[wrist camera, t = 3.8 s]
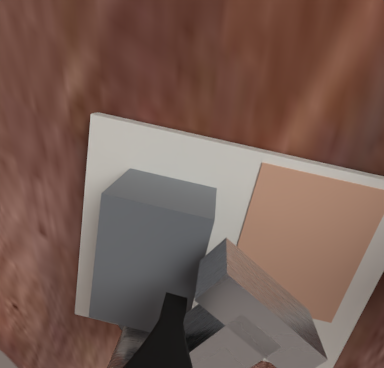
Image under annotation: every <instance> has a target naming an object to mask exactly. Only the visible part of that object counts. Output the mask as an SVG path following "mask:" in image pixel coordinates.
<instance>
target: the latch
mask: <svg viewBox="0 0 384 368" xmlns="http://www.w3.org/2000/svg"><path fill="white" fill-rule="evenodd" d="M195 301H196V302H197V303H198V305H196V306H195V307H194V308H193V309H191V310H190V311H189V312H188V313H186V314H185V318H184V322H183V324H184V330H185V336H186V341H187V346H188V350H189V354H190V358H191V362H192V366H193V368H251V367H252V366H254V365H255V364H257V363H258V362H260V361H261V360H263V359H264V358H265V359H267V360H268V361H269V362H270V363H272V364H273V365H274V366H275V367H276V368H316V367H317V366H319V365H321V364H322V363H324V362H326V361H327V360H328V359H327V356H326V353H325V351H324V348H323V346H322V343H321V340H320V338H319V335H318V332H317V330H316V327H315V325H314V322H313V319H312V317H311V314H310V312H309V310H308V309H307V308H306V307H305V306H304V305H303V304H301V303H300V302H299V301H298V300H297V299H296V298H295V297H293V296H292V295H291V294H290V293H289V292H288V291H287V290H286V289H284V288H283V287H282V286H281V285H280V284H279V283H278V282H276V281H275V280H274V279H273V278H272V277H271V276H270V275H268V274H267V273H266V272H265V271H264V270H263V269H262V268H261V267H259V266H258V265H257V264H256V263H255V262H254V261H253V260H251V259H250V258H249V257H248V256H247V255H246V254H245V253H244V252H242V251H241V250H240V249H239V248H238V247H237V246H236V245H234V244H233V243H232V242H231V241H230V240H229V239H228V238H227V237H226V238H225V239H224V240H223V241H222V242H220V243H219V244H218V245H217V246H216V247H215V248H214V249H213V250H211V251H210V252H209V253H208V254H207V255H206V256H205V257H203V258H202V259H201V260H200V263H199V271H198V278H197V286H196V293H195ZM150 333H151V332H146V331H142V330H138V329H134V328H130V327H126V326H124V328H123V331H122V333H121V335H120V338H119V340H118V343H117V345H116V348H115V350H114V352H113V355H112V357H111V360H110V362H109V365H108V367H107V368H123V366H124V365H125V364H126V363H127V362H128V361H129V360H130V359H131V357H132V356H133V355H134V354H135V352H136V351H137V350H138V349H139V348H140V346H141V345H142V344H143V342H144V341H145V339H146V338H147V337H148V335H149V334H150Z"/></svg>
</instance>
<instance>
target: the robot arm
mask: <svg viewBox="0 0 384 368" xmlns="http://www.w3.org/2000/svg"><path fill="white" fill-rule="evenodd" d="M186 309H187V298H186V297H182V296H179V295H175V294H171V293H168V292H166V294H165V298H164V302H163V305H162V309H161V313H160V316H159V320H158V322H157V324H156V325H155V327H154V328H153V330H152V331H151V333H150V334H149V335H148V337H147V338H146V339H145V341H144V342H143V344H142V345H141V346H140V348H139V349H138V350H137V351H136V352H135V354H134V355H133V356H132V357H131V359H130V360H129V361H128V362H127V363H126V364H125V365H124V366H123V368H193V366H192V362H191V358H190V354H189V350H188V346H187V341H186V336H185V330H184V324H183V322H184V318H185V314H186Z"/></svg>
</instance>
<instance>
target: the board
mask: <svg viewBox="0 0 384 368" xmlns="http://www.w3.org/2000/svg"><path fill="white" fill-rule="evenodd" d="M130 168H131V169H136V170H140V171H144V172H149V173H153V174H157V175H162V176H166V177H170V178H175V179H179V180H184V181H188V182H192V183H197V184H201V185H205V186H210V187H214V188H217V193H216V208H215V221H214V225H213V228H212V232H211V236H210V240H209V244H208V248H207V252H206V255H207V254H208V253H209V252H210V251H211V250H213V249H214V248H215V247H216V246H217V245H218V244H219V243H220V242H222V241H223V240H224V239H225V238H226V237H227V238H228V239H229V240H230V241H231V242H232V243H233V244H234V245H236V246H237V247H238V248H239V249H240V250H241V251H242V252H244V253H245V254H246V255H247V256H248V257H249V258H250V259H251V260H253V261H254V262H255V263H256V264H257V265H258V266H259V267H261V268H262V269H263V270H264V271H265V272H266V273H267V274H268V275H270V276H271V277H272V278H273V279H274V280H275V281H276V282H278V283H279V284H280V285H281V286H282V287H283V288H284V289H286V290H287V291H288V292H289V293H290V294H291V295H292V296H293V297H295V298H296V299H297V300H298V301H299V302H300V303H301V304H303V305H304V306H305V307H306V308H307V309H308V310H309V312H310V314H311V317H312V319H313V322H314V325H315V327H316V330H317V332H318V335H319V338H320V340H321V343H322V346H323V348H324V351H325V353H326V356H327V359H328V360H327V361H326V362H324V363H322V364H321V365H319V366H317V367H316V368H333V367H334V365H335V363H336V361H337V359H338V357H339V355H340V353H341V352H342V350H343V348H344V346H345V344H346V342H347V340H348V338H349V336H350V334H351V333H352V331H353V329H354V327H355V325H356V323H357V321H358V319H359V317H360V315H361V313H362V312H363V310H364V308H365V306H366V304H367V302H368V300H369V298H370V296H371V294H372V293H373V291H374V289H375V287H376V285H377V283H378V281H379V279H380V277H381V275H382V273H383V272H384V176H379V175H375V174H371V173H366V172H362V171H357V170H353V169H348V168H344V167H339V166H335V165H330V164H326V163H322V162H317V161H313V160H308V159H304V158H299V157H295V156H290V155H286V154H282V153H277V152H273V151H268V150H264V149H259V148H255V147H250V146H246V145H241V144H237V143H233V142H228V141H224V140H219V139H215V138H210V137H206V136H201V135H197V134H193V133H188V132H184V131H179V130H175V129H170V128H166V127H161V126H157V125H152V124H148V123H144V122H139V121H135V120H130V119H126V118H121V117H117V116H112V115H108V114H104V113H99V112H98V113H93V114H91V117H90V129H89V142H88V154H87V167H86V179H85V191H84V204H83V216H82V228H81V241H80V253H79V265H78V278H77V290H76V302H75V314H76V315H80V316H84V317H89V308H90V298H91V289H92V279H93V269H94V260H95V250H96V240H97V231H98V221H99V211H100V201H101V193H102V192H103V191H105V190H106V189H107V188H108V187H109V186H110V185H111V184H113V183H114V182H115V181H116V180H117V179H118V178H119V177H121V176H122V175H123V174H124V173H125V172H126V171H127V170H128V169H130ZM206 255H205V256H206ZM196 305H198V303H197V302H196V301H195V298H194V301H193V305H192V309H193V308H194V307H195V306H196ZM89 318H90V317H89ZM93 319H94V318H93ZM97 320H98V319H97ZM101 321H102V320H101ZM105 322H106V321H105ZM109 323H110V322H109ZM113 324H114V323H113ZM117 325H118V324H117ZM119 327H120V329H121V330H122V331H123V328H124V326H122V325H119ZM262 361H266V362H269V361H268V360H267V359H265V358H264V359H263V360H262Z"/></svg>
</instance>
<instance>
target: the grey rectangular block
mask: <svg viewBox="0 0 384 368" xmlns="http://www.w3.org/2000/svg"><path fill="white" fill-rule="evenodd" d="M216 193H217V188H214V187H210V186H205V185H201V184H197V183H192V182H188V181H184V180H179V179H175V178H170V177H166V176H162V175H157V174H153V173H149V172H144V171H140V170H136V169H131V168H130V169H128V170H127V171H126V172H125V173H124V174H123V175H122V176H121V177H119V178H118V179H117V180H116V181H115V182H114V183H113V184H111V185H110V186H109V187H108V188H107V189H106V190H105V191H103V192H102V193H101V201H100V211H99V221H98V231H97V240H96V250H95V260H94V269H93V279H92V289H91V298H90V308H89V317H90V318H94V319H98V320H102V321H106V322H110V323H114V324H118V325H122V326H126V327H130V328H134V329H138V330H142V331H146V332H151V331H152V330H153V328H154V327H155V325H156V324H157V322H158V320H159V316H160V313H161V309H162V305H163V302H164V298H165V294H166V292H168V293H171V294H175V295H179V296H182V297H186V298H187V309H186V313H188V312H189V311H190V310H191V309H192V305H193V301H194V298H195V293H196V286H197V278H198V271H199V263H200V260H201V259H202V258H203V257H205V255H206V252H207V248H208V244H209V240H210V236H211V232H212V228H213V225H214V221H215V208H216Z"/></svg>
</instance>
